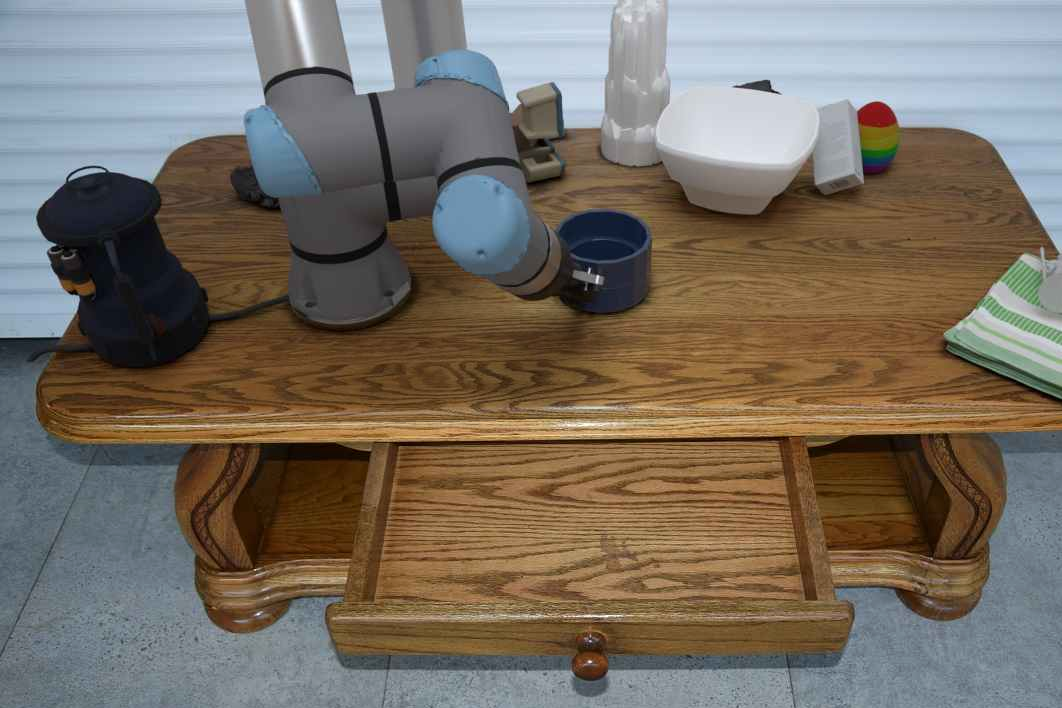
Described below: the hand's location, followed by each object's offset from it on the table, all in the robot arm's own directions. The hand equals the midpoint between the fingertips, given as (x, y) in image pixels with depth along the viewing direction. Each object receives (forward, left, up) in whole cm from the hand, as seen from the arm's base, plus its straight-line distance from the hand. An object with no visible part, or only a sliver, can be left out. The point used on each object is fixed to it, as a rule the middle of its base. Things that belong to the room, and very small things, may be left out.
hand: (580, 297), depth 114 cm
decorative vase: (+18, +40, -4) cm, 44 cm away
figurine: (+55, -15, +2) cm, 57 cm away
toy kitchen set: (-2, +40, +4) cm, 41 cm away
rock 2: (+39, +48, +1) cm, 62 cm away
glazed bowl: (+4, +6, -4) cm, 8 cm away
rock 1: (-36, +38, -4) cm, 53 cm away
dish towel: (+54, -16, -4) cm, 57 cm away
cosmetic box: (+42, +18, -1) cm, 46 cm away
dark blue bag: (-53, +17, +8) cm, 56 cm away
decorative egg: (+51, +27, -4) cm, 57 cm away
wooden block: (-2, +36, +3) cm, 36 cm away
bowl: (+27, +23, -4) cm, 36 cm away
